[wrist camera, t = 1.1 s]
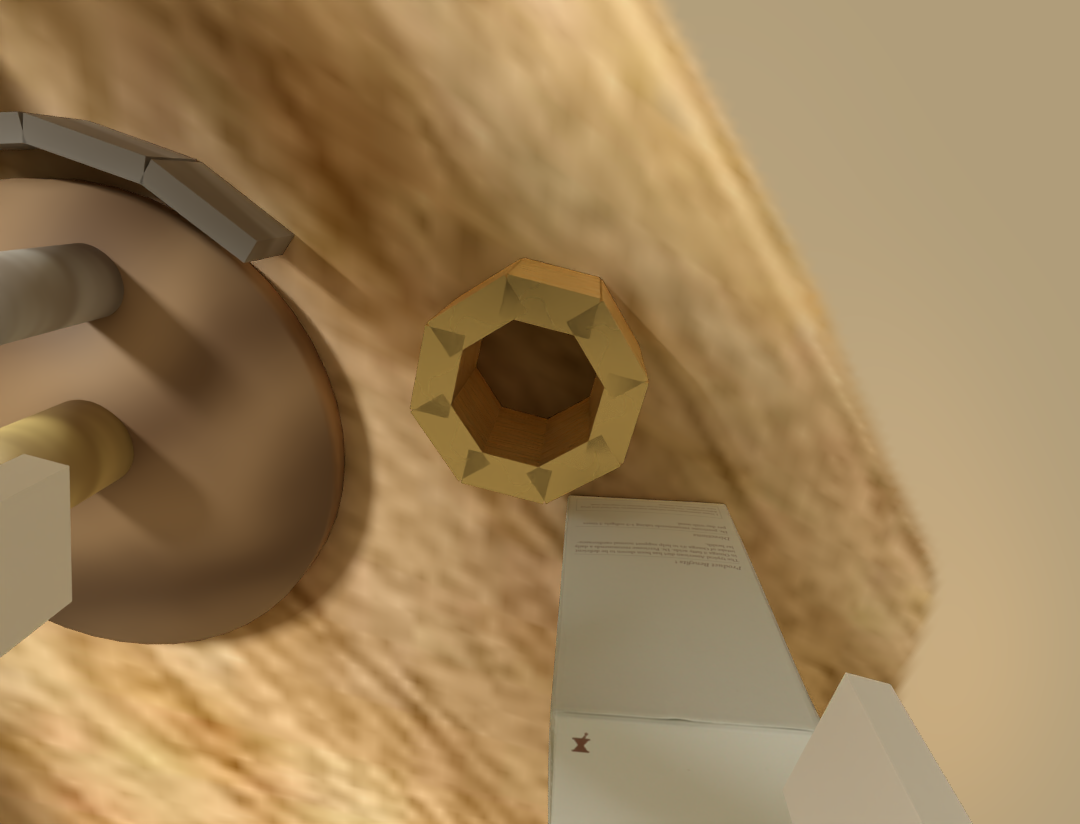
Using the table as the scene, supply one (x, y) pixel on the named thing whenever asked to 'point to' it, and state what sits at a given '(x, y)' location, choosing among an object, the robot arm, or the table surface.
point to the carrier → (161, 387)
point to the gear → (516, 437)
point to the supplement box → (668, 673)
